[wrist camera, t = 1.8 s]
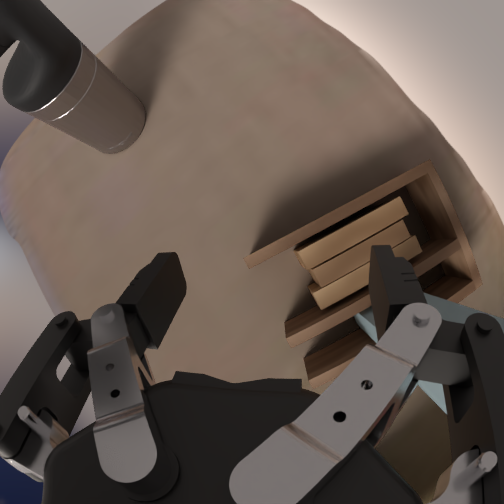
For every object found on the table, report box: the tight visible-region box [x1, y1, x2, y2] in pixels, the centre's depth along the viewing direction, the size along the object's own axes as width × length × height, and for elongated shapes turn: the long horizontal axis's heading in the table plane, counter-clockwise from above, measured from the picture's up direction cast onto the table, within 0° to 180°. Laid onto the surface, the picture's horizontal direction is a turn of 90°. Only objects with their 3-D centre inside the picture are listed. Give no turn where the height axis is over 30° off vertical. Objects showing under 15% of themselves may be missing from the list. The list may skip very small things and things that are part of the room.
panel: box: [354, 293, 504, 414], centre depth 24 cm, size 3×6×26 cm, turn 118°
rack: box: [243, 159, 482, 389], centre depth 34 cm, size 16×23×7 cm
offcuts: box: [294, 196, 422, 310], centre depth 33 cm, size 7×13×8 cm, turn 118°
